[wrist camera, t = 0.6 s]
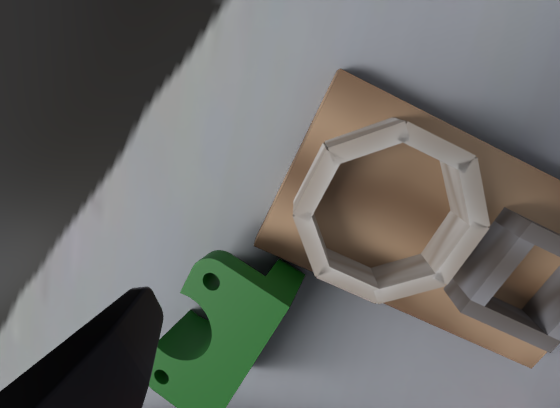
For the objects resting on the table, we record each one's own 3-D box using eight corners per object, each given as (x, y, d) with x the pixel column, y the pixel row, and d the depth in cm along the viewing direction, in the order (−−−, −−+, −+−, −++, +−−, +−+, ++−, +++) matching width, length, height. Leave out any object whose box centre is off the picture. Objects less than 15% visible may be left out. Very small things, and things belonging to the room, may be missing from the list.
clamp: (244, 232, 28) (217, 223, 19) (304, 270, 28) (306, 279, 19) (165, 357, 27) (99, 408, 18) (225, 400, 27) (187, 476, 18)
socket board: (518, 353, 26) (556, 398, 22) (256, 236, 23) (248, 264, 20) (637, 222, 22) (708, 250, 18) (337, 70, 20) (346, 65, 16)
